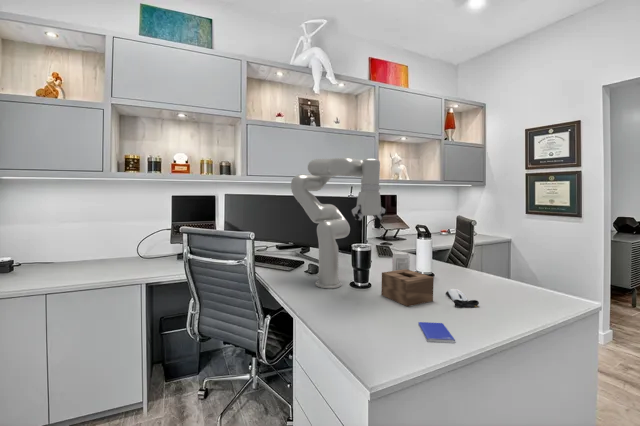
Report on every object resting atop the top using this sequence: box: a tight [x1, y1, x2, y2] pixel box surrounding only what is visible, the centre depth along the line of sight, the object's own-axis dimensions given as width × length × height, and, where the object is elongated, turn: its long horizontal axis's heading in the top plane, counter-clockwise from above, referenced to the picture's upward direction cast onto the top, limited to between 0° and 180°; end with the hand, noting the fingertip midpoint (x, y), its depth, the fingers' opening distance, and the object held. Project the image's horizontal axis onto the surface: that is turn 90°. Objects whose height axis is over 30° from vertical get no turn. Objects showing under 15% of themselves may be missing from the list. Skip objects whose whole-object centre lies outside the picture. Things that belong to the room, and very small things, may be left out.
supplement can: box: [391, 251, 411, 271], centre depth 158 cm, size 8×8×15 cm
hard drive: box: [417, 321, 456, 344], centre depth 101 cm, size 2×8×12 cm
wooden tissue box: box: [380, 269, 435, 307], centre depth 134 cm, size 16×14×10 cm
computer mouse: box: [444, 288, 480, 308], centre depth 132 cm, size 10×18×4 cm, turn 1°
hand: (368, 229), depth 134 cm, fingers open, 9 cm apart
